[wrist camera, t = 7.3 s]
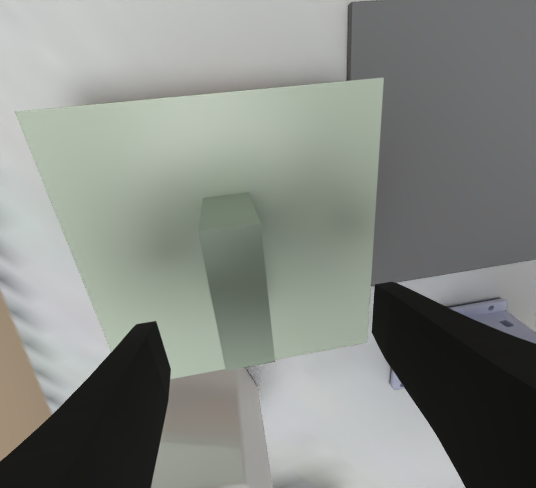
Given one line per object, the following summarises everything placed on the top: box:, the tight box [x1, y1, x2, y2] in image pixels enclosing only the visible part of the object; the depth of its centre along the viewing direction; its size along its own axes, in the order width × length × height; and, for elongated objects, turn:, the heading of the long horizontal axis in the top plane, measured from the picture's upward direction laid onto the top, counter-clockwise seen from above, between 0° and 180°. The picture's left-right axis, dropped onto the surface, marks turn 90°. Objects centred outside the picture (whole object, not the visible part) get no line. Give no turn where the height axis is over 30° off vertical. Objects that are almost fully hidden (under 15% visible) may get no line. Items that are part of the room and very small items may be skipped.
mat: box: [347, 0, 536, 287], centre depth 20 cm, size 17×17×1 cm
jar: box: [151, 367, 273, 488], centre depth 19 cm, size 9×8×12 cm
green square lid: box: [15, 78, 384, 379], centre depth 13 cm, size 14×14×5 cm
